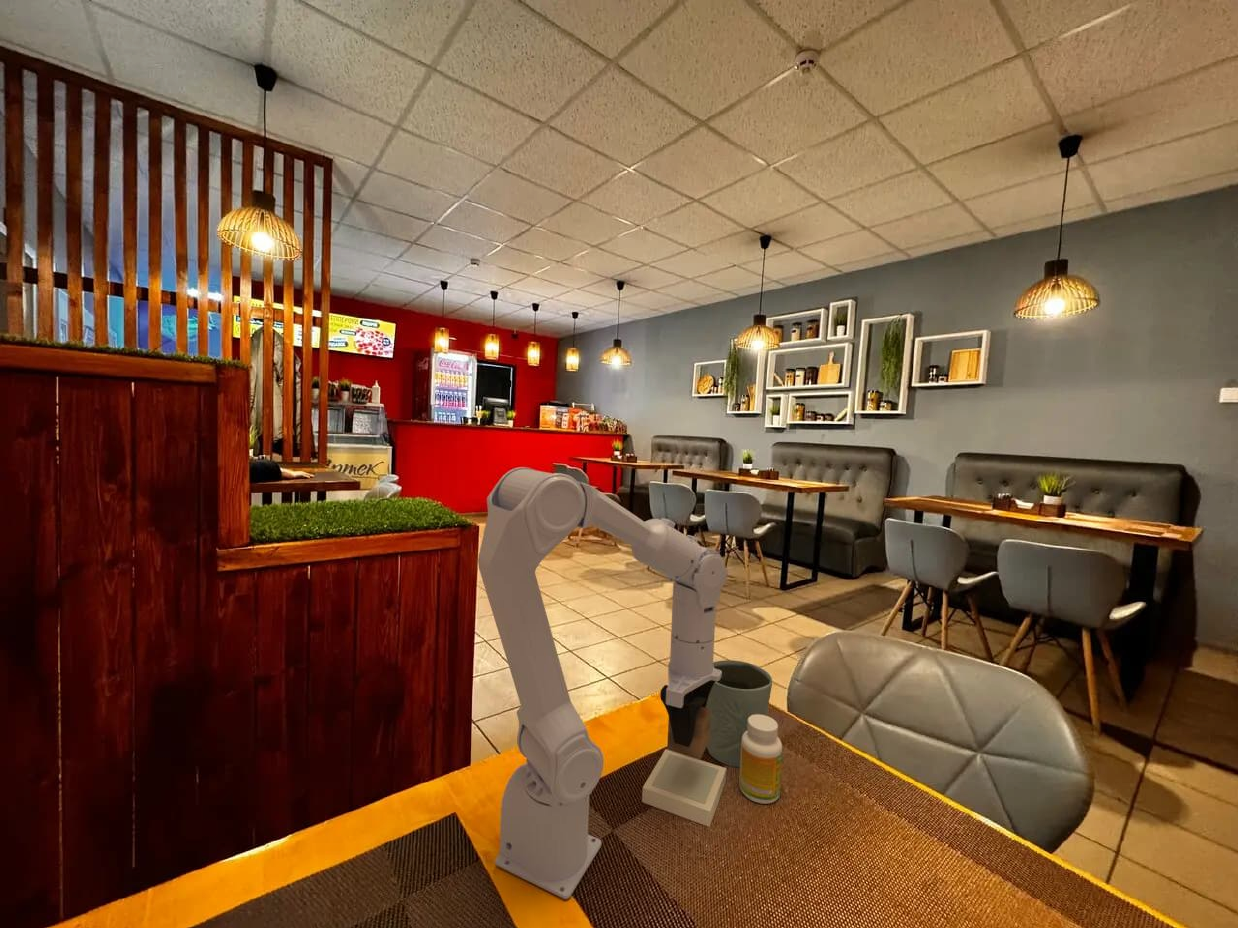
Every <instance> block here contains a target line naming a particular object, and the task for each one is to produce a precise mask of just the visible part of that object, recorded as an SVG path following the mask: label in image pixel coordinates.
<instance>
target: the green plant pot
mask: <svg viewBox="0 0 1238 928" xmlns="http://www.w3.org/2000/svg"><path fill="white" fill-rule="evenodd" d="M713 666H714V668H715V669H718V670H721V671H722V676H721V678H720V680H719V681H716V682H715V683H714V685H713V687H712V689H711V692H710V694H709V697H708V701H707V705H706V708H709V709H711V717H710V738H709V743H708V745H707V747H706V749H707V751H708V753H709V754H710V756H711V757H712V758H714V760H715V761H718V762H719V763H722V764H723V765H726V766H730V767H735V768H740V759H741V741H742V736H743V734H744V733H745V732H746V731H747V723H748V718H749V717H750V716H752V715H756V714H760V715H765V716H768V713H769V704H770V698H771V692H772V686H773V678H772V676H771V674H770V673H769V672H768V671H767V670H765V669H763V668H762V667H760V666H757V665H756V664H752V663H749V662H746V661H741V660H735V659H733V660H732V659H731V660H728V659H726V660H724V659H723V660H717V661H713Z"/></svg>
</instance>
